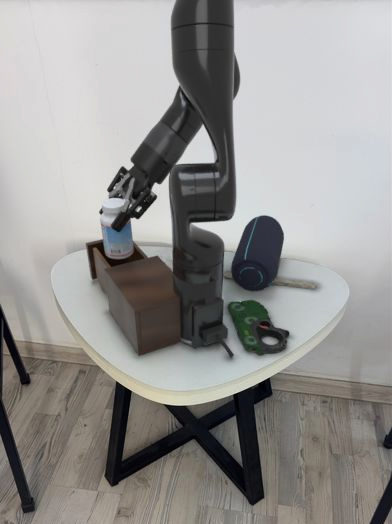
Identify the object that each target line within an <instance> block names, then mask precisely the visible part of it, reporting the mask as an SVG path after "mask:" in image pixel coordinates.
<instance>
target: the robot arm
mask: <svg viewBox="0 0 392 524" xmlns="http://www.w3.org/2000/svg"><path fill="white" fill-rule="evenodd" d="M170 45H171V46H170V47H171V65H172V70H173V73H174V76H175V78H176V80H177V82H178V87H177V89H176V91H175V94H174V97H173V99H172V102H171V104H170V105H169V106H168V108H167V109H166V110H165V112H164V113H163V115H162V116H161V118H160V119H159V120H158V121H157V123H156V124H155V125H154V126H153V127H152V128H151V129H150V130H149V132H148V133H147V134H146V136H145V138H144V139H143V140H142V141H141V143H140V145H139V146H137V148H136V149H135V152H134V153H133V154H132V156H131V157H130V160H129V161H130V162H131V163H132V164H133V165H132V167H131V168H130V169H128V168H126V167H125V166H124V165H122V166H121V167H120V168H119V169H118V171H117V172H116V174H115V176H114V178H112V181H111V182H110V184H109V185H108V186H107V189H106V191H107V192H108V195H107V197H108V198H107V199H110V198H120V199H123V200H124V201H125V204H124V207H123V209H122V211H120V213H119V214H118V216H117V217H116V218H115V220H114V221H113V222H112V224H111V228H112V229H114V230H115V231H117V232H120V231H121V230H122V229H123V228H124V226H125V225H126V224H127V222H128V221H129V220H130V219H131V220H132V219H135V220H140V219H141V218H142V217H143V215H144V214H145V213H146V212H147V210H148V209H149V208H150V207H151V206H152V205H154V203H155V201H156V200H157V199H158V195H157V194H156V193H155V192H154V191H153V188H154V186H155V184H157V185H162V184H163V183H164V181H165V180H166V179H167V177H168V199H169V211H170V219H171V223H170V224H171V244H172V245H171V255H172V256H171V257H172V258H171V259H172V271H173V290H174V292H175V293H176V294H177V295H178V296H179V297H180V328H181V338H180V341H181V342H180V343H182V344H185V345H187V346H190V347H192V348H193V349H198V348H202V347H204V346H209V345H212V344H215V343H217V342H218V343H219V344H220V345H221V346H222V348H223V349H224V350H225V351H226V353H227V355H228V356H229V357H230V358H233V357H234V356H235V354H234V353H233V351H232V349H230V346H228V344H227V343H226V342H225V341H224V340H227V339H228V334H229V328H228V327H227V326H226V324H224V308H225V307H224V306H225V301H224V299H223V285H224V284H223V283H224V267H225V251H226V250H225V243H224V240H223V238H221V236H219V235H218V234H217V233H215V232H213V231H210V230H208V229H204V228H201V227H198V226H197V225H195V224H199V223H219V222H220V223H221V222H227V221H228V222H229V221H230V220H232V218H233V217H234V215H235V212H236V208H237V197H238V196H237V194H238V193H237V189H238V188H237V168H236V153H235V152H236V151H235V150H236V149H235V133H234V100H236V97H237V96H238V94H239V91H240V86H241V71H240V66H239V62H238V59H237V55H236V52H235V0H175V2H174V4H173V8H172V10H171V14H170ZM202 127H204V129H205V131H206V134H207V136H208V139H209V142H210V144H211V148H212V152H213V153H212V154H213V162H195V163H194V162H193V163H190V162H189V163H178V162H179V161H180V160H181V158H182V157H183V155H184V154H185V152H186V150H187V148H188V147H189V145H190V144H191V143H192V142H193V140H194V139H195V137H196V136H197V134H198V133H199V132H200V130H201V129H202ZM98 213H99V215H100V216H101V215H102V213H103V210H102V207H101V208H100V210H99V211H98Z"/></svg>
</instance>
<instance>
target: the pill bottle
mask: <svg viewBox="0 0 392 524" xmlns="http://www.w3.org/2000/svg"><path fill="white" fill-rule="evenodd" d="M124 204H125V199H124V200H123V199H120V198H110V199H108V198H106V199H104V200H103V201H102V202H101V208H102V210H103V213H102V215H100V217H99V220H100V221H99V223H100V228H101V233H102V234H101V235H102V239H103V243H104V250H105V254H106V256H108V257H109V258H112V259H125V258H127V257H129V256H130V255H132V253H133V251H134V247H133V241H134V239H133V238H134V237H133V230H132V218H131V219H130V220H129V221H128V222H127V224H126V225H125V226H124V228H123V229H122V230H121V231H120V232H117V231H115V230H114V229H112V228H111V224H112V222H113V221H114V220H115V218H116V217H117V216H118V214H119V213H120V211H122V209H123V207H124Z"/></svg>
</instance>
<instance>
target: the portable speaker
mask: <svg viewBox="0 0 392 524" xmlns="http://www.w3.org/2000/svg"><path fill="white" fill-rule="evenodd" d="M284 241H285V233H284V231H283V227H282V226H281V223H280V222H279V221H278V220H277V219H276V218H275V217H273V216H270V215H265V214H263V215H258V216H256V217H253V218H252V219H251V220H250V221H249V222H248V223H247V224H246V225H245V227H244V229H243V232H242V234H241V237H240V240H239V242H238V244H237V248H236V250H235V253H234V256H233V258H232V263H231V266H230V272H231V273H232V277H233V281H234V283H235V284H236V285H237V286H238V287H239V288H241V289H243V290H244V291H249V292H261V291H264V290H266V289H267V288H270V287H271V285H273V284H272V283H273V282H274V280H275V278H277V276H278V273H279V268H280V261H281V257H282V252H283V246H284Z"/></svg>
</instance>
